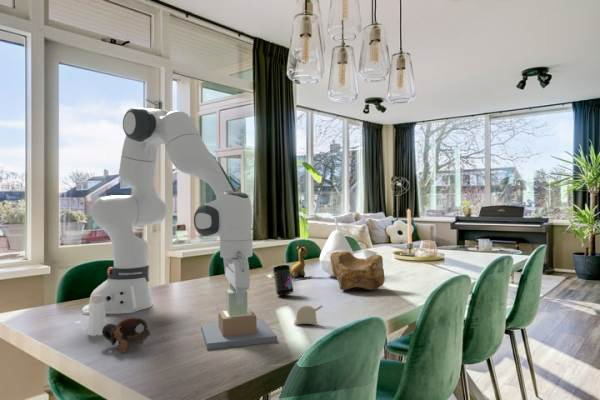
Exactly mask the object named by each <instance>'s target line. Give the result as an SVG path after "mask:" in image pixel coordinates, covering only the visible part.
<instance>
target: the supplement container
mask: <svg viewBox="0 0 600 400" xmlns="http://www.w3.org/2000/svg"><path fill="white" fill-rule="evenodd" d="M290 268H291V267H290V265H289V264H281V265H278V266H274V267H272V273H273V275H274V276H273V280H274V285H275V292H276V295H277V296H280V297H281V296H288V295H291V294H293V293H294V287H293V285H294V284H293V280H292V278H293V277H291V272H290Z"/></svg>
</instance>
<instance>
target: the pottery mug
mask: <svg viewBox="0 0 600 400" xmlns="http://www.w3.org/2000/svg"><path fill="white" fill-rule="evenodd" d="M106 324H107V323H106ZM140 325H142V326H143V330H142V331H141V332H138V331H136V329H137V326H140ZM102 333H103V335H102V336H103V337H104V338H105V339H106V340H107V341H109V342H110V344H111V345H112V346H114V345H116V343H117V341H118V345H119V347H118V352H119V353H123V354H125V353H126V352H127V350H130V349H133V348H135V347H137V346H139V345H141V344H143V343H144V341H146V340H147V339H148V337H149V336H151V333H150V330H149V329H148V324H147V322H146V321H145V320H144V319H142V318H140V317H133V316H132V317H127V318H123V319H121V320H120V321H119V322H118V323H116V324H114V323H108V324H107V325H105V326H104V328H103V330H102Z"/></svg>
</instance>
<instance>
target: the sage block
mask: <svg viewBox="0 0 600 400" xmlns="http://www.w3.org/2000/svg"><path fill="white" fill-rule="evenodd" d="M225 294H226V295H225V297H226V300H225V301H226V304H225V306H226V311H227V313H228V315H229V316H232V315H243V314H248V313H247V308H248V291H247V290H245V293H244V303H243V304H242V305H237V303H236V289H230V288H229V289H225Z"/></svg>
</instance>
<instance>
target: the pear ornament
mask: <svg viewBox="0 0 600 400" xmlns="http://www.w3.org/2000/svg"><path fill="white" fill-rule="evenodd" d="M334 222H335V230H333V231H332V232H331V233H330V234H329V236H328V238H327V240H326V241H325V244H324V246H323V248H322V250H321V251H320V255H319V258H318V259H319V263H320V266H321V269H322V271H324V272H325V273H326V274H328V275H330V276H331V277H336V276H335V275H334V274H333V270H332V266H331V259H330V257H331V254H332V253H334V252H344V251H347V252H350V253H351V254H352V255H353V256H354V257H355V255H354V252H353V251H354V250H353V249H352V247H351V245H350V243H349V242H348V240H347V238H346V236H345V234H344V233H343V232H342V231H341V230H343V231H345V232H347V231H348V228H347V226H343V225H340V224H338V221H337V219H336V218H335V219H334ZM339 229H341V230H339ZM336 278H337V277H336Z"/></svg>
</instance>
